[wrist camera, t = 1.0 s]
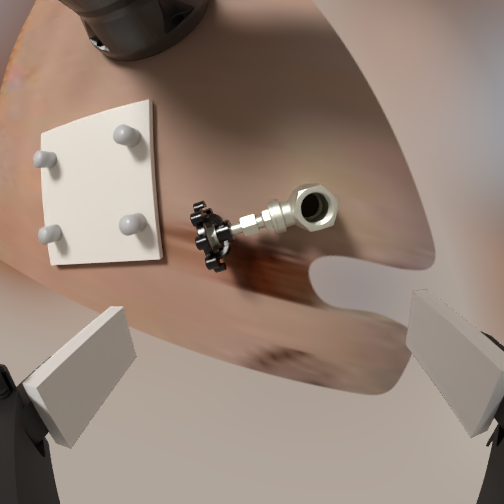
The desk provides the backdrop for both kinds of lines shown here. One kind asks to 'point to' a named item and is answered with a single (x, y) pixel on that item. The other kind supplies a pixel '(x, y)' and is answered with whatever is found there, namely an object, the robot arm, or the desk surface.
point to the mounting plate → (101, 188)
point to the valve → (261, 221)
